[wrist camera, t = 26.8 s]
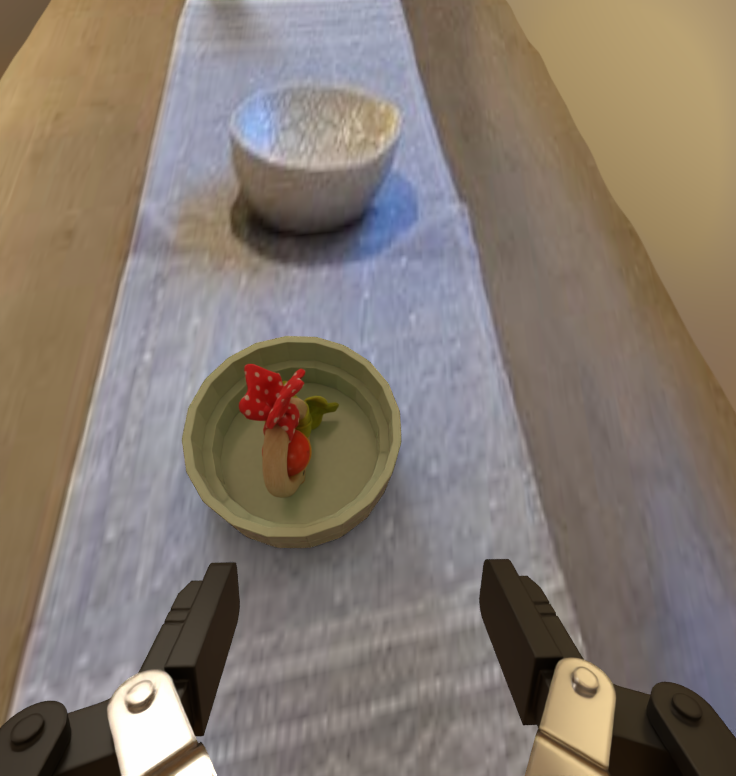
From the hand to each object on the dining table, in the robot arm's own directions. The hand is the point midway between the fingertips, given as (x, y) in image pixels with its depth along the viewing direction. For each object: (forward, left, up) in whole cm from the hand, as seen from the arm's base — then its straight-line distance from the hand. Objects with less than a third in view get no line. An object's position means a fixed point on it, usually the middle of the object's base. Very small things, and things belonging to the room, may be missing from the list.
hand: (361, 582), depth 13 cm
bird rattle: (+11, +4, -18) cm, 22 cm away
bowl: (+11, +4, -19) cm, 22 cm away
